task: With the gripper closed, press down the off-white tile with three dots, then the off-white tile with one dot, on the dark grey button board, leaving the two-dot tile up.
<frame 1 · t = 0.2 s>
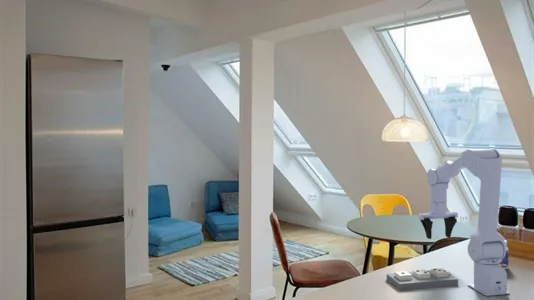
hand: (438, 237, 165), 10 cm above the kitchen counter, fingers open, 7 cm apart
tile two: (421, 274, 147), point 3 cm above the kitchen counter, slide at 0.0 cm
button board: (421, 282, 147), on the kitchen counter
tile three: (439, 272, 148), point 3 cm above the kitchen counter, slide at 0.0 cm
tile one: (403, 275, 146), point 3 cm above the kitchen counter, slide at 0.0 cm
pill bottle: (499, 268, 161), on the kitchen counter
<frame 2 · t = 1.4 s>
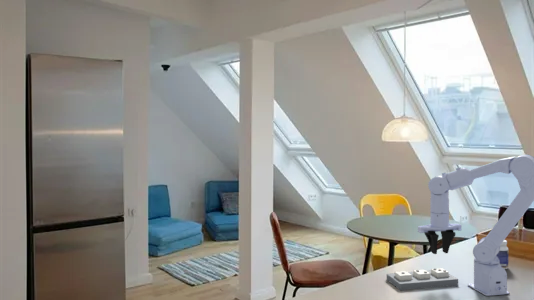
hand: (439, 252, 148), 9 cm above the kitchen counter, fingers open, 3 cm apart
nothing on the kitchen counter moved.
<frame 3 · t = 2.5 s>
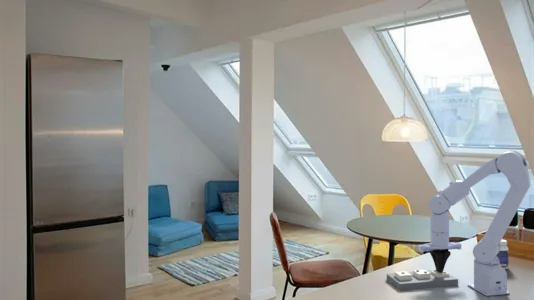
hand: (439, 271, 148), 3 cm above the kitchen counter, fingers closed, pressing on tile three
tile three: (439, 274, 148), point 2 cm above the kitchen counter, slide at 0.6 cm, touching gripper
everything else where it was.
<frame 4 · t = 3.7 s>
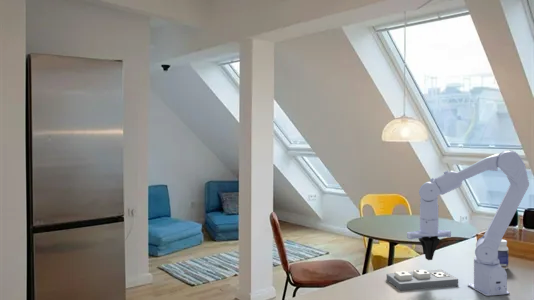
hand: (428, 259, 147), 8 cm above the kitchen counter, fingers closed
tile three: (439, 276, 148), point 1 cm above the kitchen counter, slide at 1.4 cm
everything else where it was.
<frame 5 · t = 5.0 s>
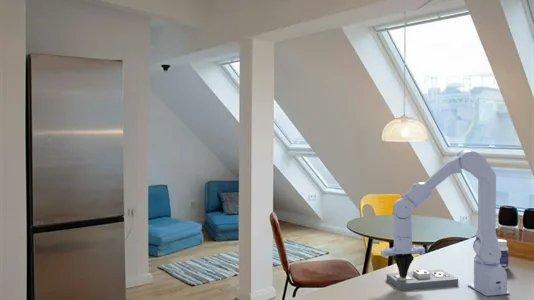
hand: (403, 276, 146), 2 cm above the kitchen counter, fingers closed, pressing on tile one
tile one: (403, 279, 146), point 1 cm above the kitchen counter, slide at 1.2 cm, touching gripper
everything else where it was.
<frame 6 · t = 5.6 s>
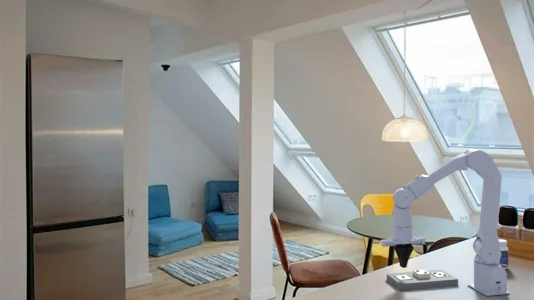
hand: (403, 266, 146), 6 cm above the kitchen counter, fingers closed
tile one: (403, 279, 146), point 1 cm above the kitchen counter, slide at 1.3 cm
everything else where it was.
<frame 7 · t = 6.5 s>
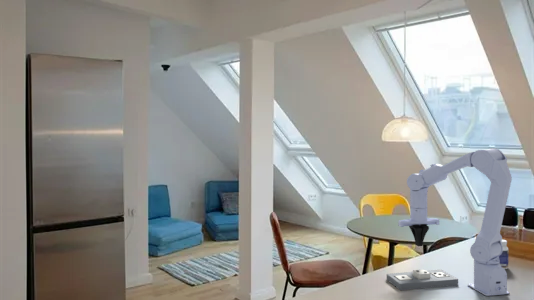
hand: (418, 245, 157), 9 cm above the kitchen counter, fingers closed
nothing on the kitchen counter moved.
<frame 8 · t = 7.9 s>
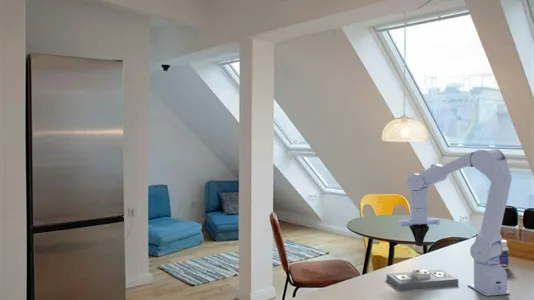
hand: (419, 245, 157), 9 cm above the kitchen counter, fingers closed
nothing on the kitchen counter moved.
at the end: tile three slide at 1.4 cm; tile one slide at 1.3 cm; tile two slide at 0.0 cm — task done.
